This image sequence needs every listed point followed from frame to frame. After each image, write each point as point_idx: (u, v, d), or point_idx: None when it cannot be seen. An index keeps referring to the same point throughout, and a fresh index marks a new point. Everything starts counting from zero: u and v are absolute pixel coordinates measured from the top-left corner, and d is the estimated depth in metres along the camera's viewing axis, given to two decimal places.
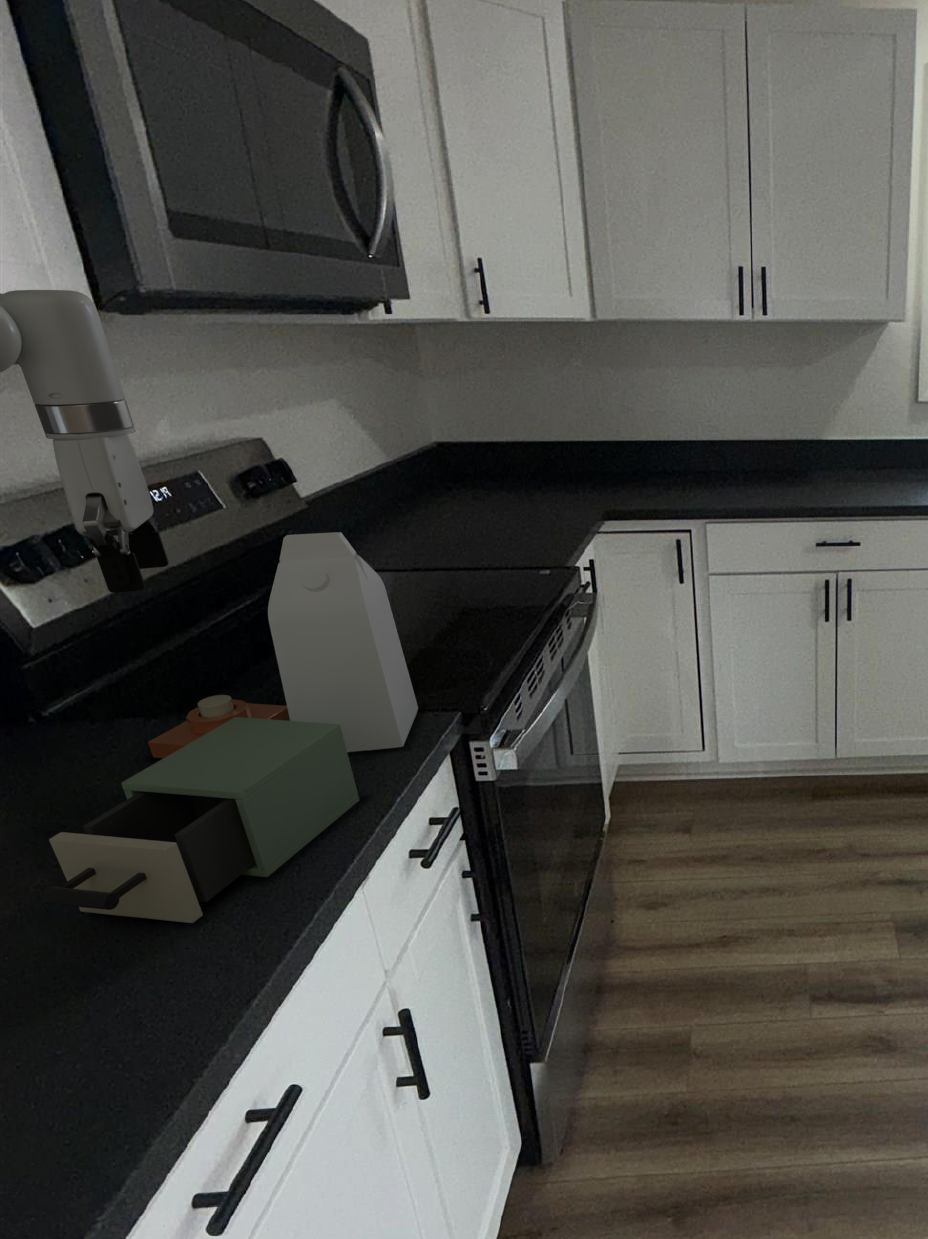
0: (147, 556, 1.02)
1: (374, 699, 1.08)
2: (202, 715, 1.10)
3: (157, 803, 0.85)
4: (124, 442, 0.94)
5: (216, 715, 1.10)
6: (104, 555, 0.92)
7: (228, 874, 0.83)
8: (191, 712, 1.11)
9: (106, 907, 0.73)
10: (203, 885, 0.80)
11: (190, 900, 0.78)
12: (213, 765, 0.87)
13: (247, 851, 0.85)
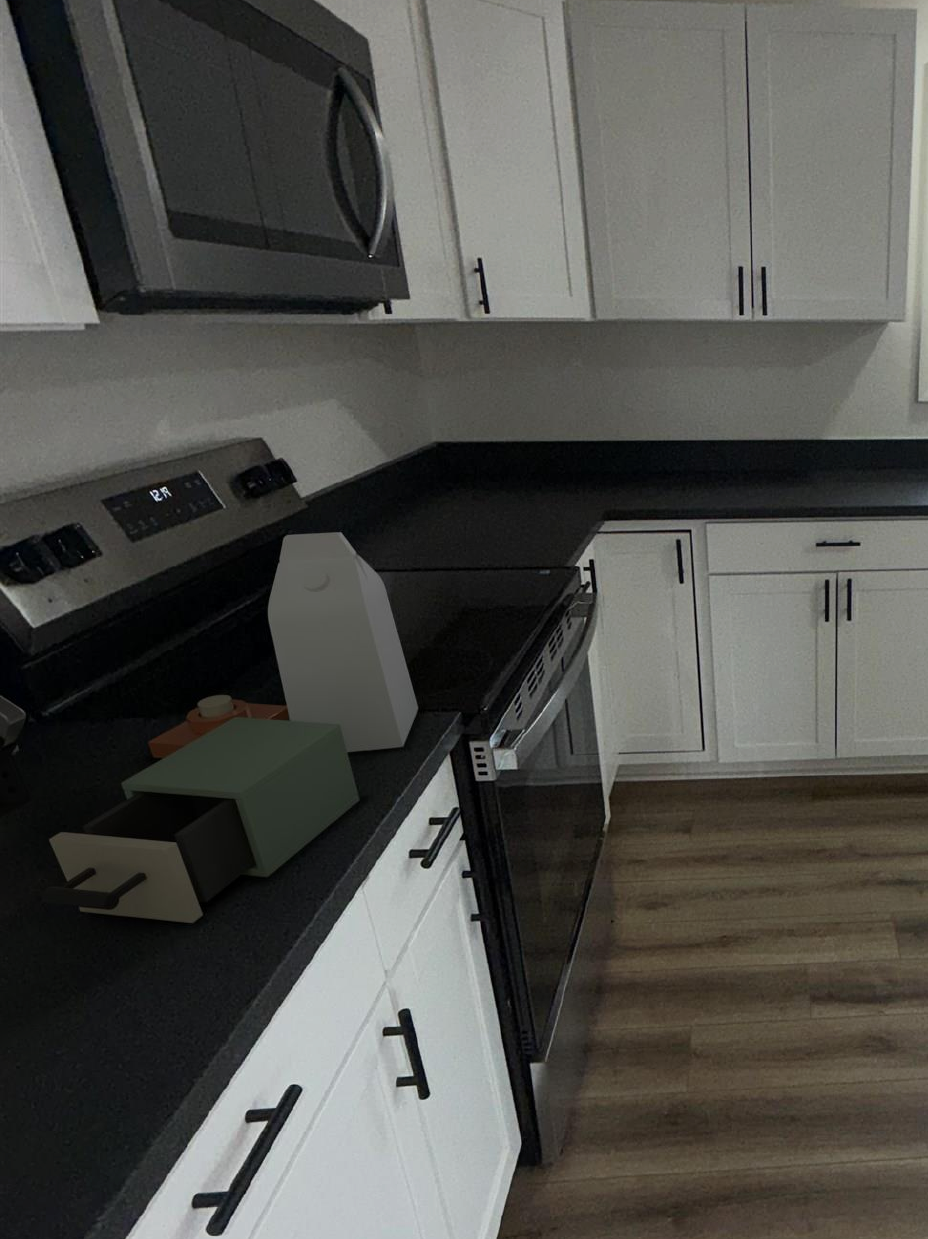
0: None
1: (374, 699, 1.08)
2: (202, 715, 1.10)
3: (157, 803, 0.85)
4: None
5: (216, 715, 1.10)
6: None
7: (228, 874, 0.83)
8: (191, 712, 1.11)
9: (106, 907, 0.73)
10: (203, 885, 0.80)
11: (190, 900, 0.78)
12: (213, 765, 0.87)
13: (247, 851, 0.85)
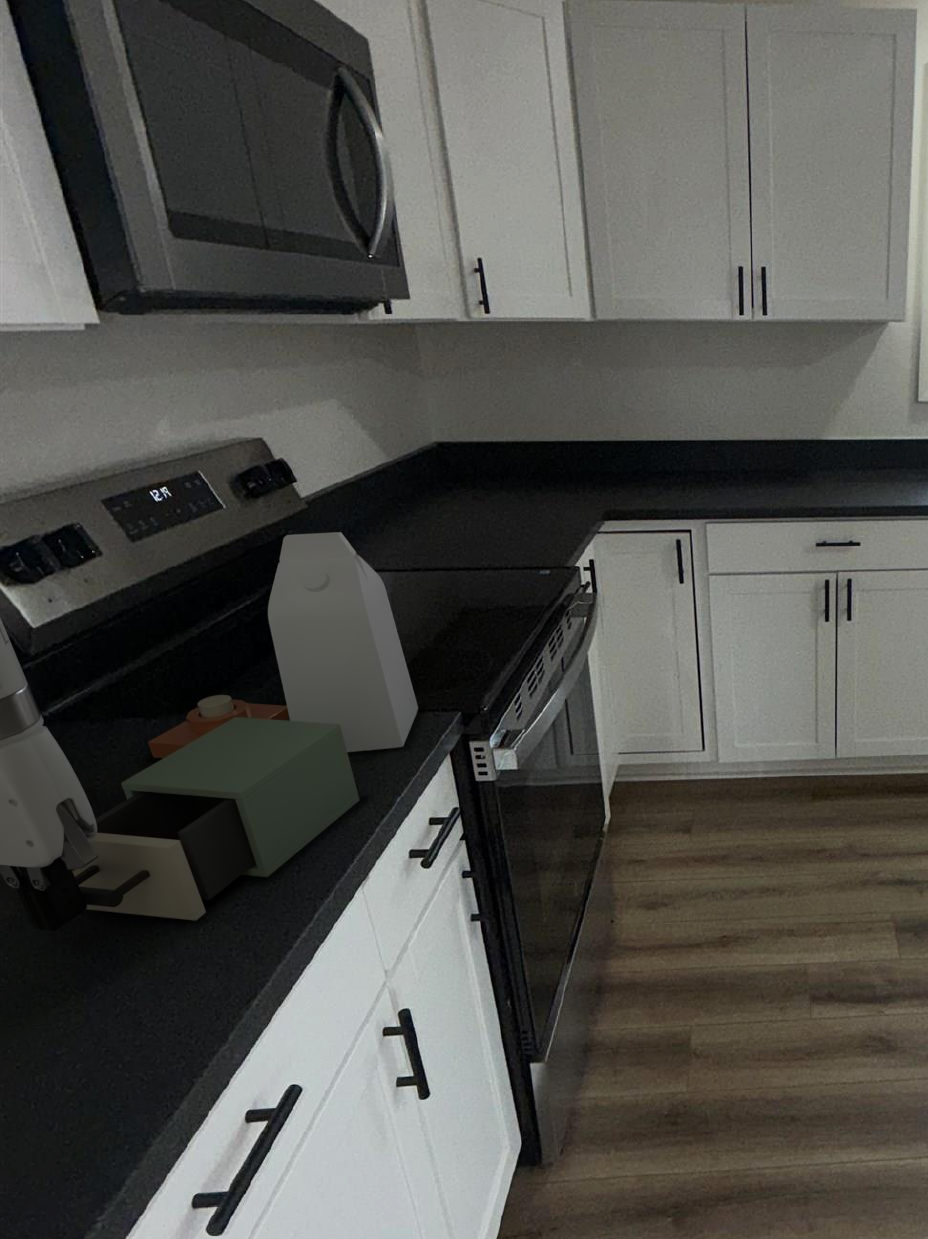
0: None
1: (374, 699, 1.08)
2: (202, 715, 1.10)
3: (160, 801, 0.85)
4: None
5: (216, 715, 1.10)
6: (54, 882, 0.70)
7: (231, 872, 0.83)
8: (191, 712, 1.11)
9: (110, 904, 0.73)
10: (206, 883, 0.80)
11: (193, 897, 0.78)
12: (213, 765, 0.87)
13: (250, 849, 0.85)
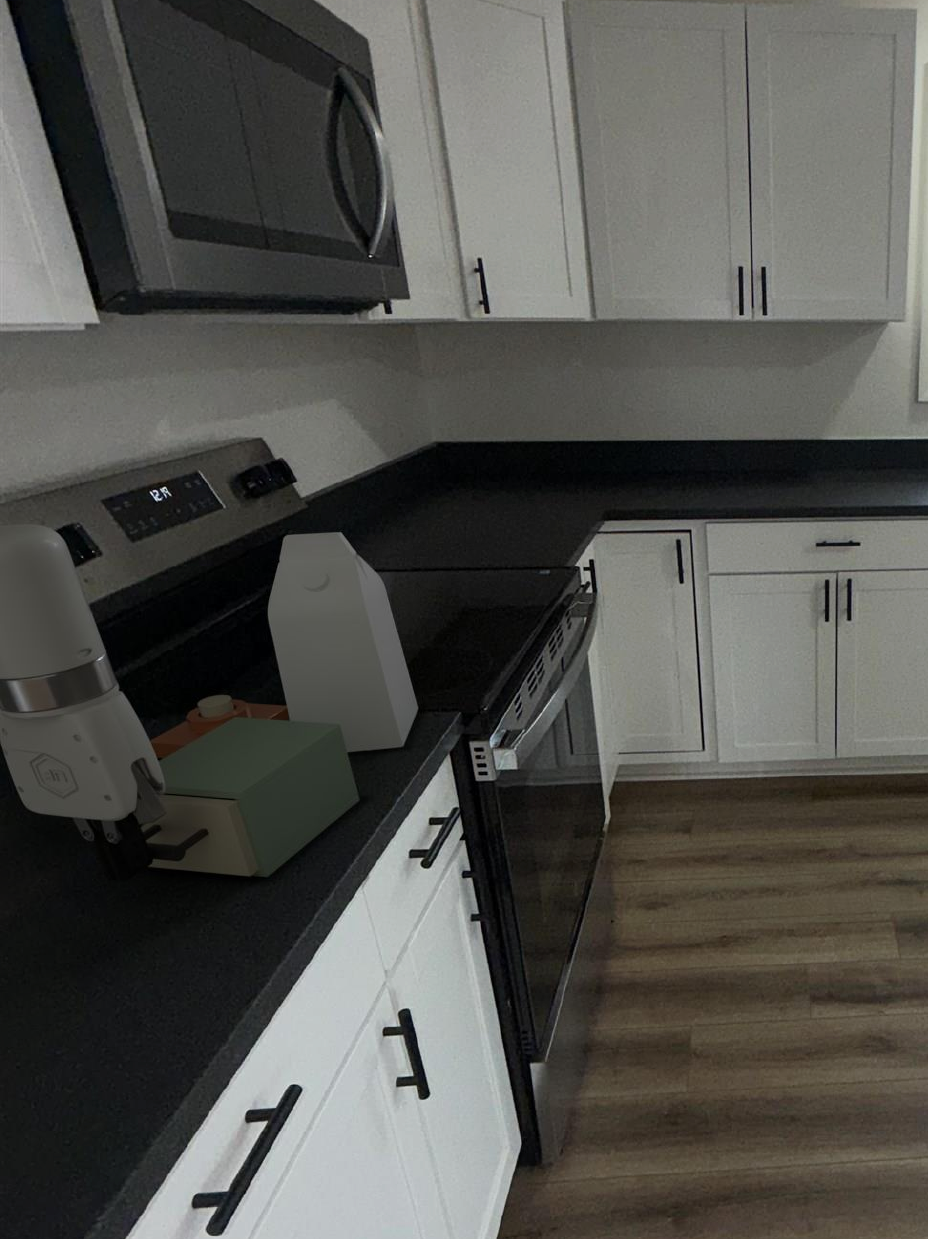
0: None
1: (374, 699, 1.08)
2: (202, 715, 1.10)
3: None
4: None
5: (216, 715, 1.10)
6: (126, 836, 0.76)
7: None
8: (191, 712, 1.11)
9: (175, 858, 0.79)
10: None
11: (248, 855, 0.84)
12: (213, 765, 0.87)
13: None
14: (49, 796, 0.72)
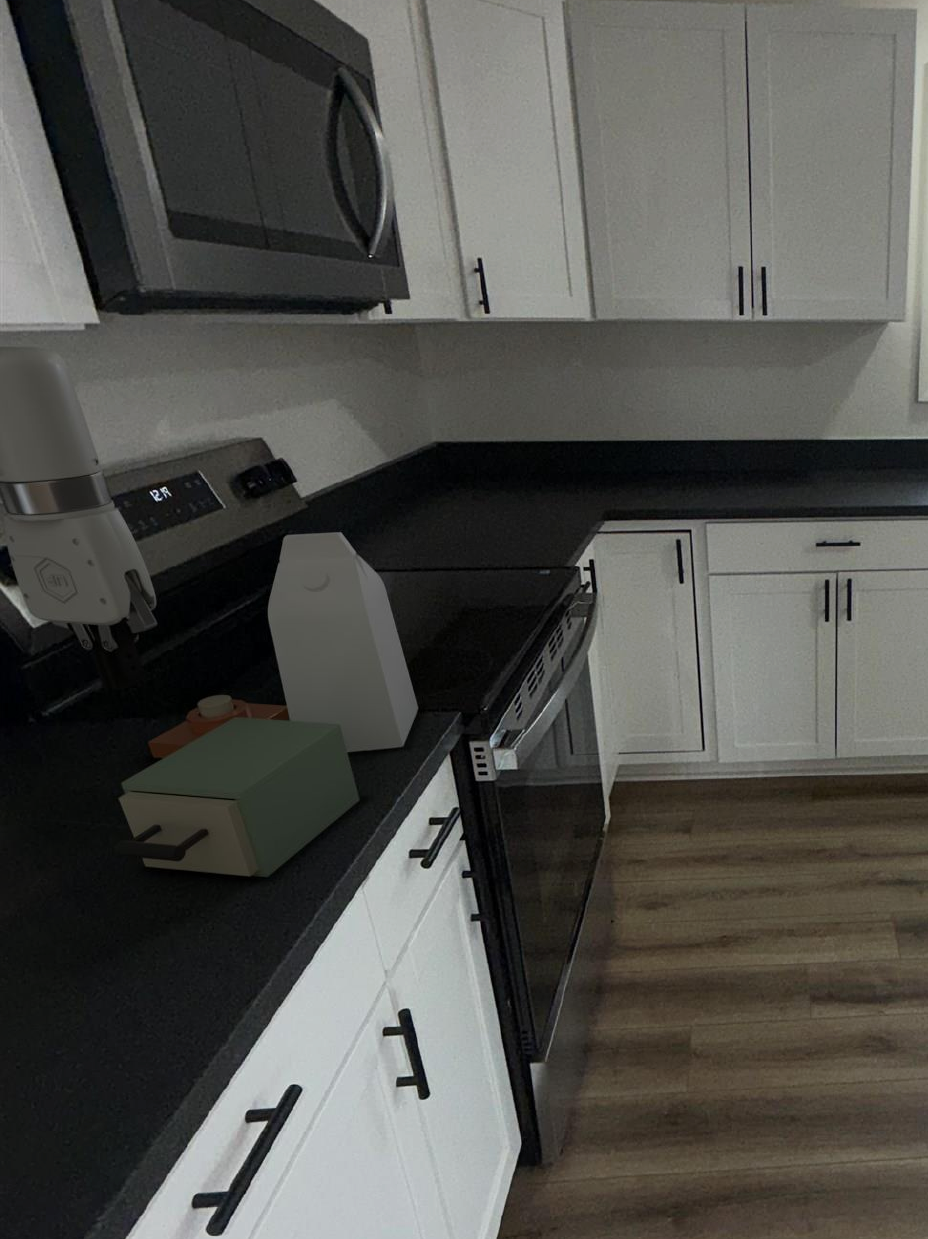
0: None
1: (374, 699, 1.08)
2: (202, 715, 1.10)
3: None
4: None
5: (216, 715, 1.10)
6: (120, 646, 0.84)
7: None
8: (191, 712, 1.11)
9: (175, 858, 0.79)
10: None
11: (248, 855, 0.84)
12: (213, 765, 0.87)
13: None
14: (51, 601, 0.80)
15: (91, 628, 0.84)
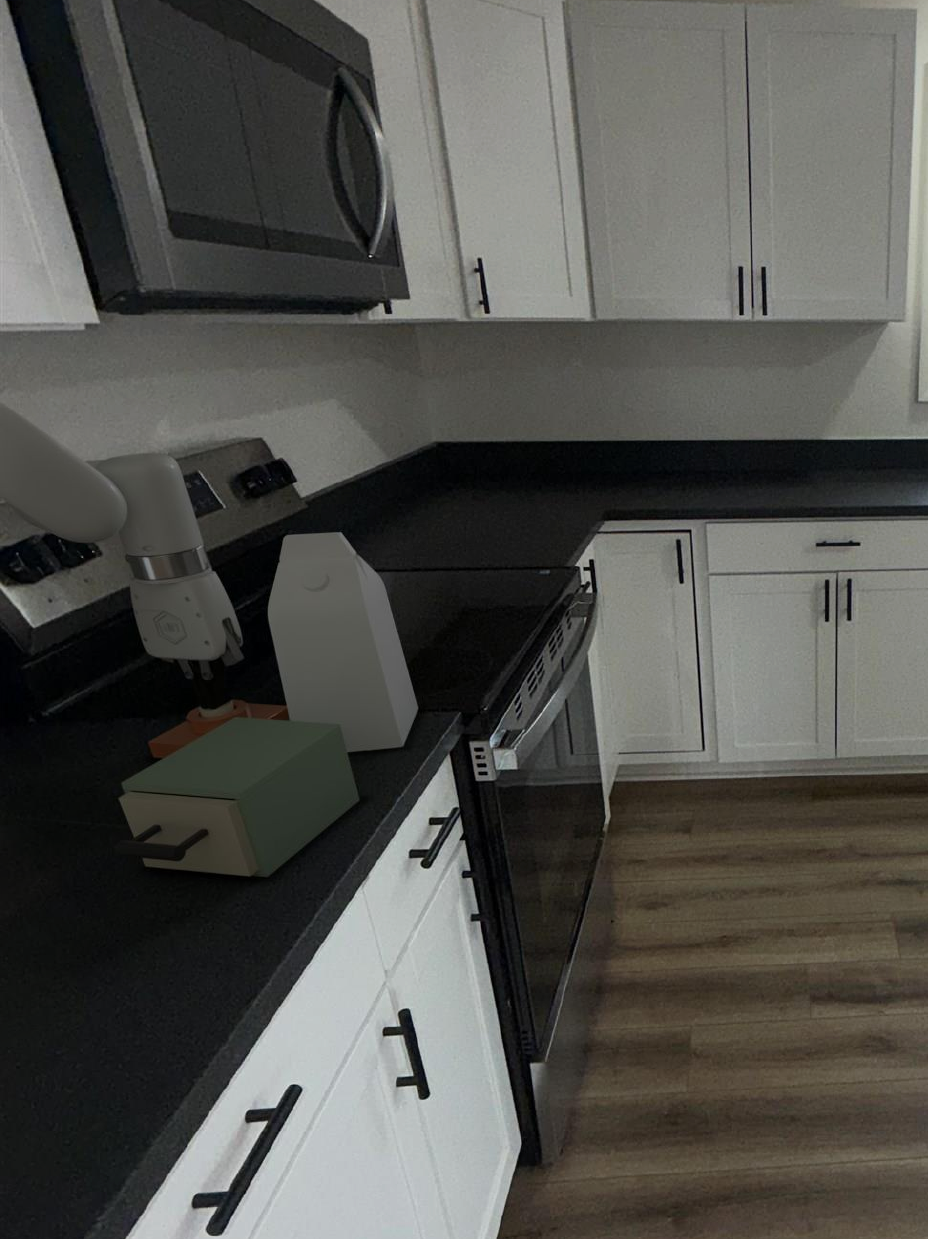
0: None
1: (374, 699, 1.08)
2: None
3: None
4: None
5: None
6: (215, 676, 1.08)
7: None
8: (191, 712, 1.11)
9: (175, 858, 0.79)
10: None
11: (248, 855, 0.84)
12: (213, 765, 0.87)
13: None
14: (165, 643, 1.05)
15: (191, 662, 1.09)
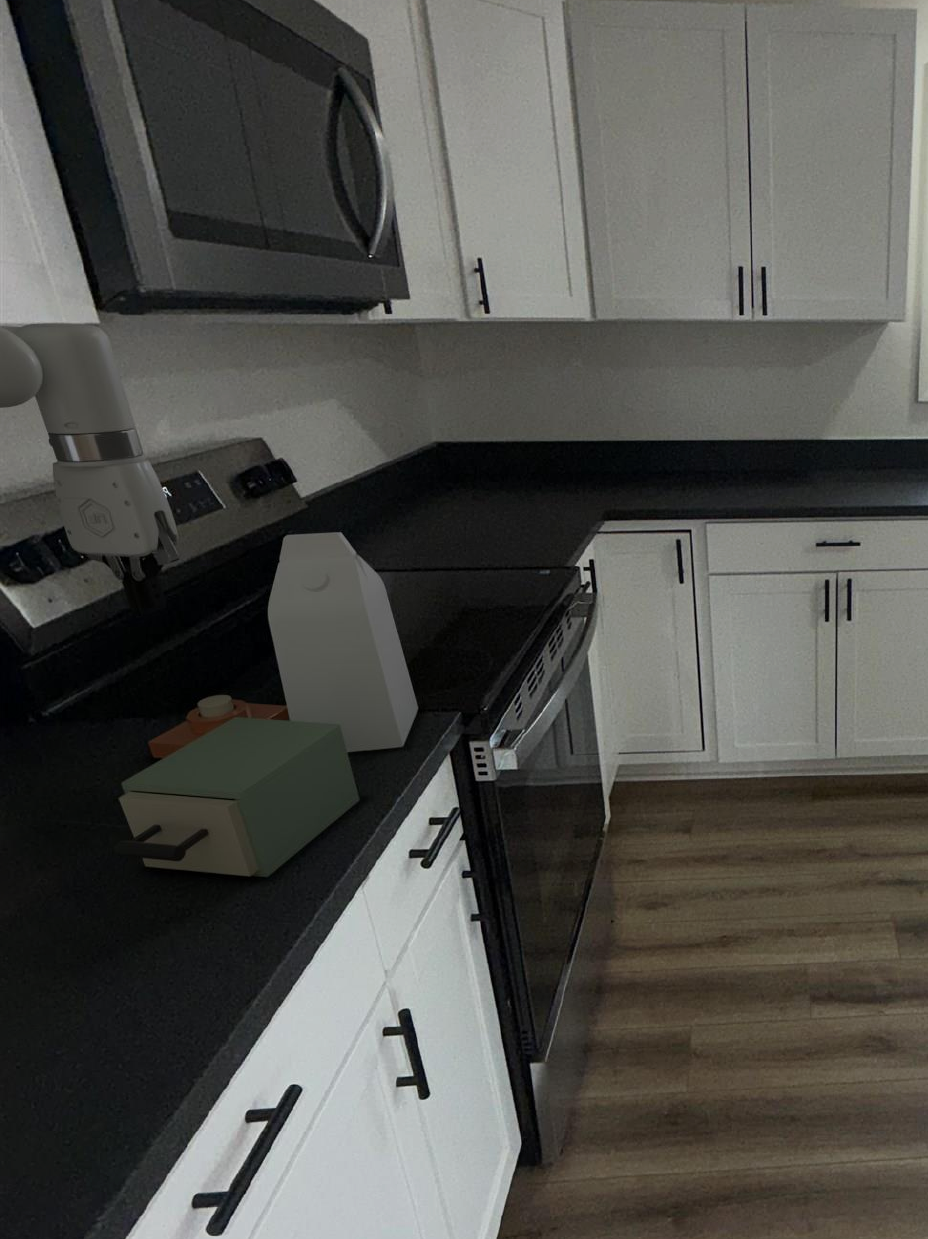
0: None
1: (374, 699, 1.08)
2: (202, 715, 1.10)
3: None
4: None
5: (216, 715, 1.10)
6: (148, 577, 1.00)
7: None
8: (191, 712, 1.11)
9: (175, 858, 0.79)
10: None
11: (248, 855, 0.84)
12: (213, 765, 0.87)
13: None
14: (91, 536, 0.96)
15: (122, 562, 1.00)
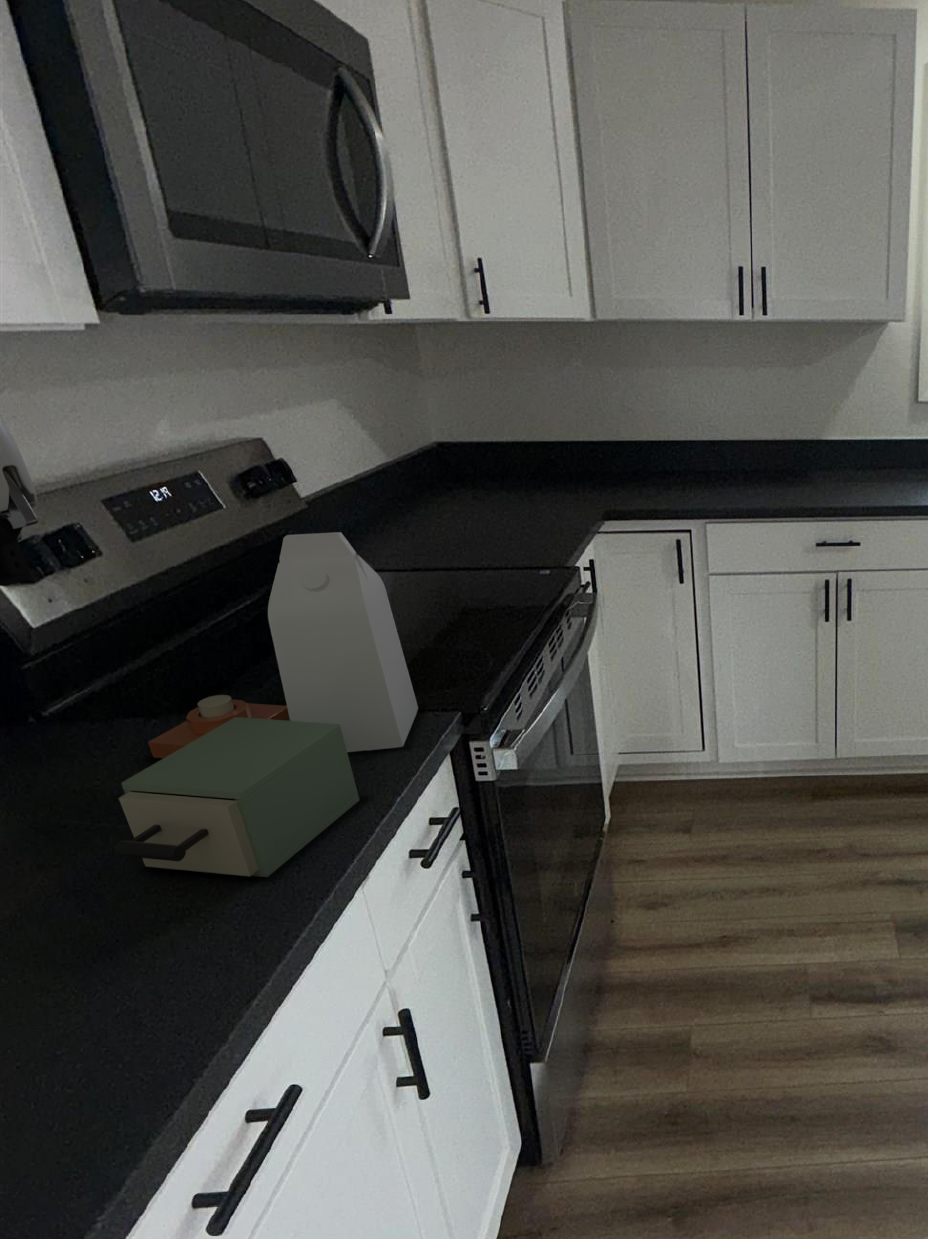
0: None
1: (374, 699, 1.08)
2: (202, 715, 1.10)
3: None
4: None
5: (216, 715, 1.10)
6: (3, 542, 0.87)
7: None
8: (191, 712, 1.11)
9: (175, 858, 0.79)
10: None
11: (248, 855, 0.84)
12: (213, 765, 0.87)
13: None
14: None
15: None
